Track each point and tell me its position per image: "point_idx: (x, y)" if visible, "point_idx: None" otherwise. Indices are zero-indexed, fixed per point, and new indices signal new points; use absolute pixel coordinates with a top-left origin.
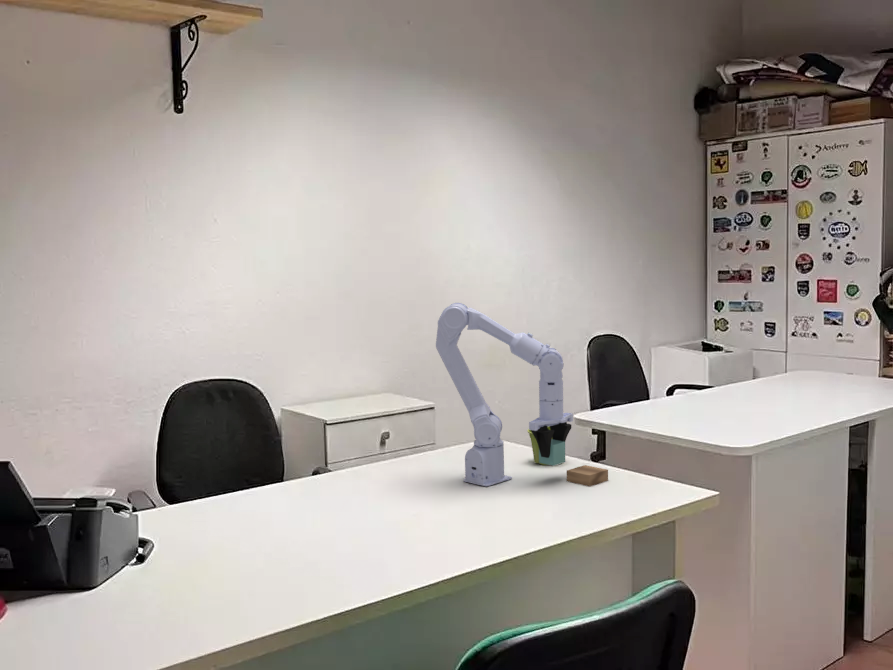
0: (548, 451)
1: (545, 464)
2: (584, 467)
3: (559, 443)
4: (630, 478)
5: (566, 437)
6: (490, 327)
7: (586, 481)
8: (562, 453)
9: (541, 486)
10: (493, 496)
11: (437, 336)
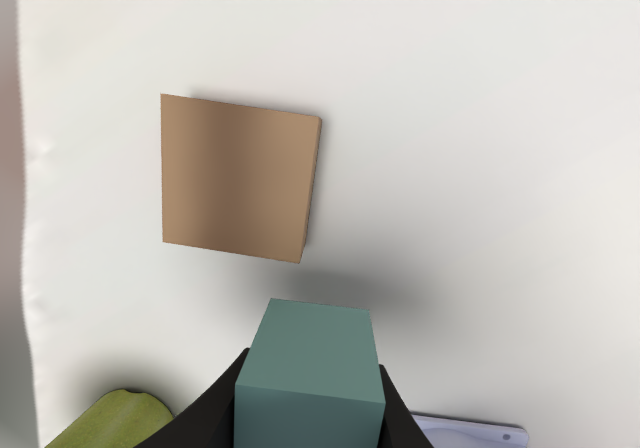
0: (395, 389)
1: (166, 408)
2: (201, 221)
3: (308, 393)
4: (92, 23)
5: (180, 416)
6: None
7: (318, 139)
8: (285, 332)
9: (423, 287)
10: (627, 359)
11: None
